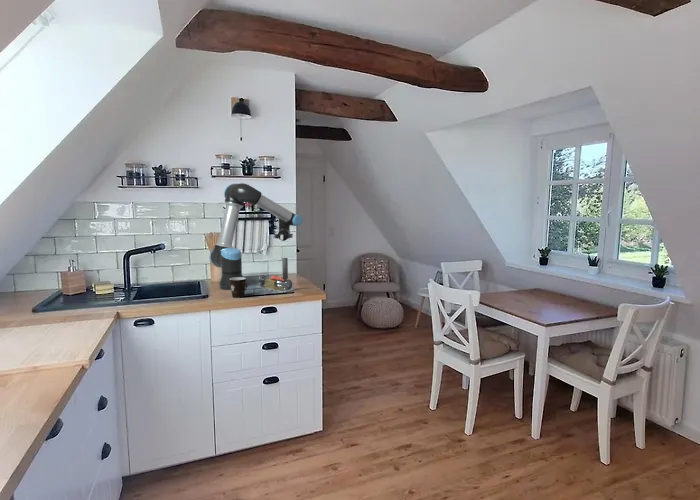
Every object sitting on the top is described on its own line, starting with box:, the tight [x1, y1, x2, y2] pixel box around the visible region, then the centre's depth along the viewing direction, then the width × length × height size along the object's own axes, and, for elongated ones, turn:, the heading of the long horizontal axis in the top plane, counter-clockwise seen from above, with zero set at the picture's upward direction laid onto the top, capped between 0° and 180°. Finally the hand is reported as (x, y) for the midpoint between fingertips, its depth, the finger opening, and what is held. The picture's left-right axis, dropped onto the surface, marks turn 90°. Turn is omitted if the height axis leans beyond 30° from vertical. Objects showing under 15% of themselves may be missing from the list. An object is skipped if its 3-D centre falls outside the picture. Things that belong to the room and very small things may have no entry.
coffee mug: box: [230, 276, 248, 299], centre depth 222 cm, size 12×9×10 cm
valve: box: [254, 275, 296, 294], centre depth 244 cm, size 24×10×7 cm, turn 52°
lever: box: [270, 257, 289, 281], centre depth 239 cm, size 14×4×13 cm, turn 46°
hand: (281, 237), depth 253 cm, fingers closed
